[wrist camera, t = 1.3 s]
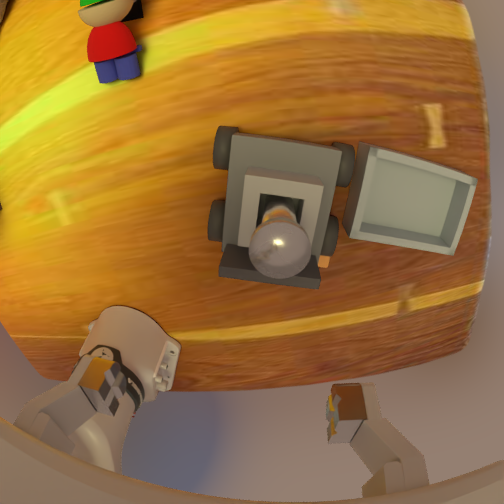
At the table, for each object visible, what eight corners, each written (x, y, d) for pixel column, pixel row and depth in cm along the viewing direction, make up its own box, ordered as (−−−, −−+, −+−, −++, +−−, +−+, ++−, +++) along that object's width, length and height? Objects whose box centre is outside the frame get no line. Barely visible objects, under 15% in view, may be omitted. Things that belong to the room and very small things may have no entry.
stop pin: (296, 225, 32) (304, 282, 22) (255, 219, 32) (245, 274, 22) (303, 186, 30) (316, 227, 20) (260, 180, 30) (252, 218, 20)
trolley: (324, 256, 41) (338, 308, 30) (213, 241, 41) (193, 289, 31) (348, 143, 33) (379, 159, 23) (223, 124, 34) (200, 132, 23)
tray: (439, 241, 38) (453, 255, 34) (342, 223, 38) (349, 237, 34) (460, 170, 33) (477, 179, 29) (359, 141, 33) (370, 146, 29)
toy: (162, 58, 33) (149, -39, 20) (141, 83, 28) (120, -33, 16) (109, 66, 33) (90, -22, 20) (82, 92, 29) (54, -9, 16)
